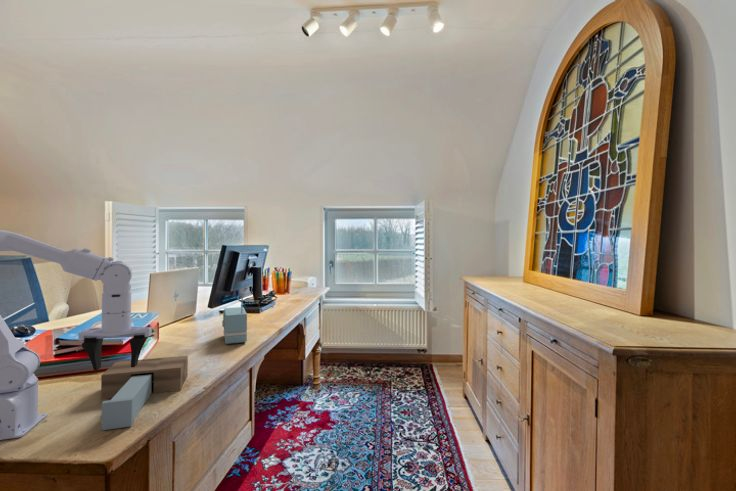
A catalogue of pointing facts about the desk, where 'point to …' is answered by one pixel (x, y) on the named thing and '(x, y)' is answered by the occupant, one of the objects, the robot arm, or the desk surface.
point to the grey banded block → (235, 324)
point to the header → (164, 374)
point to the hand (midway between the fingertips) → (116, 367)
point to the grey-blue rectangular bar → (126, 403)
